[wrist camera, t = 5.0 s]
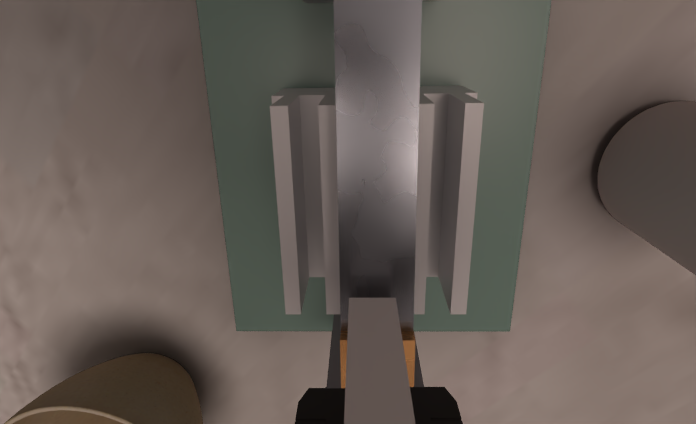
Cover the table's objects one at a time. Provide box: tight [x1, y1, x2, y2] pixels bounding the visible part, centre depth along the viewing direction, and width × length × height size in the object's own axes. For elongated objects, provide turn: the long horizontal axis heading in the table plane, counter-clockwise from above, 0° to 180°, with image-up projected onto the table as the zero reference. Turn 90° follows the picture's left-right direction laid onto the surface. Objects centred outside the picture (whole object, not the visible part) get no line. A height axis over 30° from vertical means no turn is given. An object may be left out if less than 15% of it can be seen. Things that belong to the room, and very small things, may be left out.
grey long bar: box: [333, 0, 422, 388], centre depth 15 cm, size 16×3×2 cm, turn 1°
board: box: [196, 0, 551, 388], centre depth 19 cm, size 20×15×8 cm
